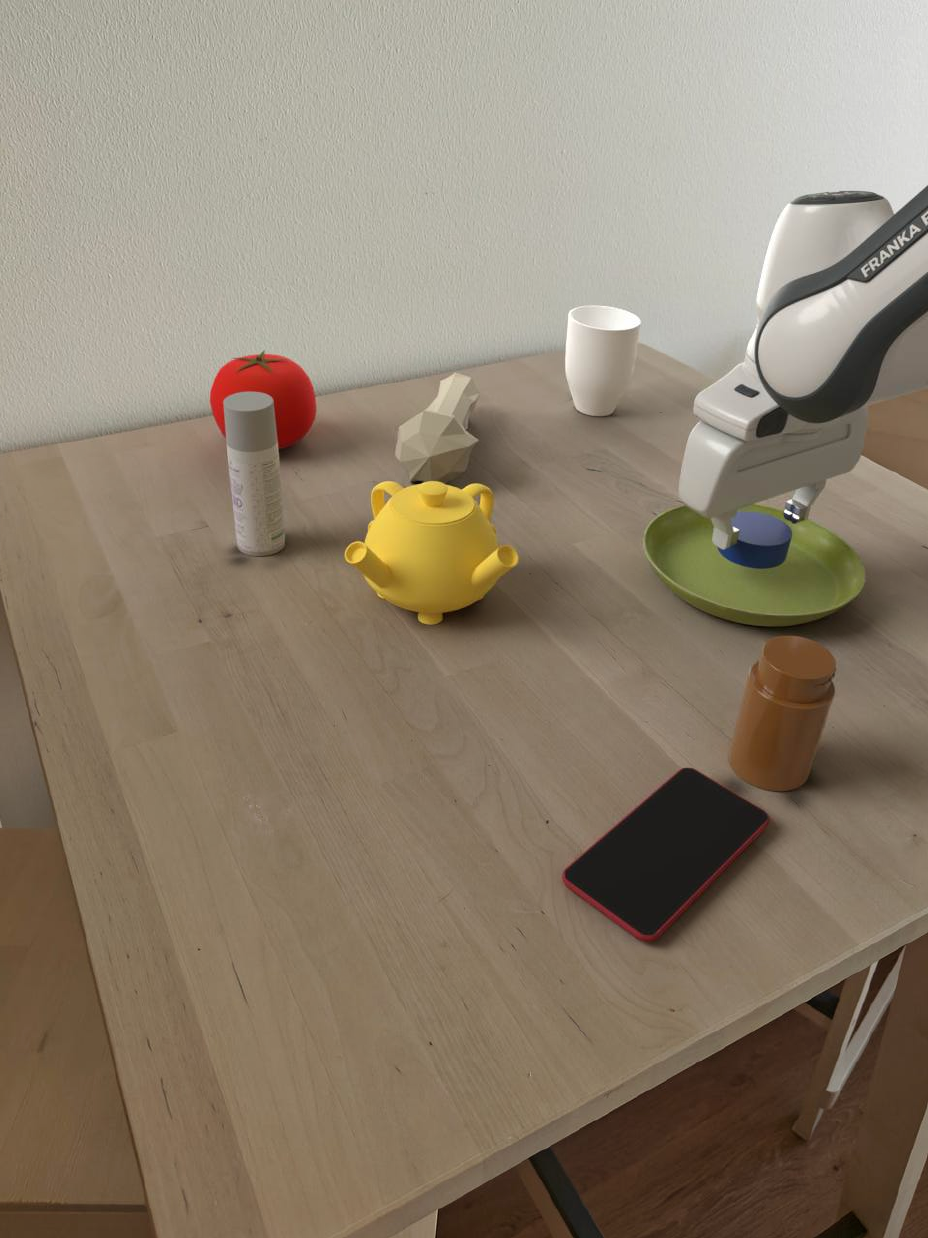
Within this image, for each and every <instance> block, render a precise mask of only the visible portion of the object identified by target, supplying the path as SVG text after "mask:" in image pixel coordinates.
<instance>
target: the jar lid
mask: <svg viewBox="0 0 928 1238" xmlns="http://www.w3.org/2000/svg"><path fill="white" fill-rule="evenodd" d="M731 522H732V526H733V527H735V528H737V529H739V530H740V533H739V537H738V538H737V540H738V542H737V544H736V545H735V546H732V547H730V548H727V549H724V550H723V549H721V548H719V547H717V548H718V550H719V552H720V553H721V555H722V556H723V557H725V558H726V559H728V560H729V561H731V562H733V563H735V564H738V565H741V566H744V567H749V568H756V569H767V568H773V567H777V566H779V565H781V564H782V563H783V562H784V561H785V560H786V557H787V553H788V549H789V546H790V542H791V538H792V531H791V528H790V527H789V526H788V525H787V524H786V523H785V522H783V521H782V520H780V519H778V518H776V517H774V516H771V515H768V514H764V513H760V512H752V511H742V512H737V514H736V517H735V518H731Z"/></svg>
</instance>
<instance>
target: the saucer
mask: <svg viewBox="0 0 928 1238" xmlns="http://www.w3.org/2000/svg"><path fill="white" fill-rule="evenodd" d="M742 511H752V512H760V513H764V514H768V515H771V516H774V517H776V518H778V519H780V520H782V521H783V522H785V523H786V524H787V525H788V526H789V527H790V528H791V531H792V538H791V542H790V546H789V549H788V553H787V557H786V560H785V561H784V562H783V563H782V564H781V565H779V566H777V567H773V568H767V569H756V568H749V567H744V566H741V565H738V564H735V563H733V562H731V561H729V560H728V559H726V558H725V557H723V556H722V555H721V553H720V552H719V550H718V548H717V546H716V545H714V544H713V542H712V536H713V531H714V526H713V523H712V521H711V518H705V517H703V516H701V515H700V514H698V513H696V512H694V511H693V510H691V509H690V508H688V507H686V506H685V505H684V504H682V505H678V506H675V507H672V508H669V509H667V510H665V511H663V512H661V513H660V514H658V515H657V516H654V518H653V519H652V520H651V521H650V522H649V523H648V525H647V526H646V527H645V530H644V532H643V537H642V544H643V550H644V553H645V555H646V558H647V560H648V562H649V564H650V566H651V567H652V569H653V571H654V573H656V575H657V576H658V578H659V579H660V580H661V581H662V583H664V585H665V586H667V588H668V589H669V590H670V591H672V593H674V594H675V595H677V597H679V598H680V599H681V600H683V601H684V602H686V603H688V604H689V605H691V606H692V607H694V608H696V609H699V610H701V611H702V612H705V613H707V614H709V615H712V616H714V617H717V618H720V619H723V620H726V621H731V622H734V623H738V624H744V625H750V626H756V627H790V626H798V625H801V624H806V623H811V622H813V621H817V620H819V619H823V618H825V617H827V616H830V615H832V614H834V613H835V612H837V611H839V610H841V609H843V607H845V606H847V605H848V604H850V603H851V602H852V601H853V600H854V599H855V598H856V597H857V596H859V594H860V593H861V592H862V589H863V588H864V585H865V583H866V569H865V566H864V564H863V561H862V560H861V557H859V555H858V554H857V552H856V551H855V550H854V548H853V547H852V546H851V545H849V543H848V542H847V541H846V540H844V539H843V538H842V537H840V536H839V535H838V534H836V533H835V532H833V531H832V530H830V529H829V528H827V527H825V526H823V525H822V524H820V523H817V522H815V521H813V520H811V519H809V518H808V519H807V520H805V521H802V522H799V523H796V524H793V523H791V521H787V520H786V519H785V518H784V516H783V513H784V511H785V509H784V510H783V509H780V508H776V507H772V506H770V505H769V506H768V505H764V504H759V503H755V504H752V505H749V506H746V507H743V508H740V509H737V512H742Z"/></svg>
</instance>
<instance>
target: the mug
mask: <svg viewBox="0 0 928 1238" xmlns="http://www.w3.org/2000/svg"><path fill="white" fill-rule="evenodd" d="M567 315H568V318H567V329H566V331H567V332H566V342H565V343H566V344H565V356H564V357H565V359H564V360H565V361H564V364H565V365H564V370H565V376H566V377H565V378H566V380H567V384H568V389H569V391H570V394H571V397H572V401H573V404H574V407H575V409H576V410H577V411H578V412H580V413H581V414H584V415H587V416H592V417H606V416H610V415H612V414H613V413H614V412H615V410H616V408H617V407H618V405H619V403H620V402H621V400H622V398H623V397H624V395H625V393H626V391H627V390H628V388H629V387H630V385H631V382H632V380H633V378H634V377H633V376H634V372H635V367H636V360H637V353H638V346H639V339H640V338H639V337H640V330H641V318H639V317H638V316H637V315H636V314H634V313H633V312H630V311H628V310H625V309H621V308H618V307H614V306H607V305H582V306H577V307H575V308H573V309H571V310H569V312H568V314H567Z"/></svg>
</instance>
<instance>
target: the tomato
mask: <svg viewBox="0 0 928 1238" xmlns="http://www.w3.org/2000/svg"><path fill="white" fill-rule="evenodd" d="M265 351H266V350H265V349H264V350H262V352H261V353H258V354H257V353H256V354H250V355H249V354H248V355H245V356H240V357H233V359H230V361H228V362H227V363H225V364H224V365H223V366H222V367H221V368H219V370H218V371H217V373H216V375H215V377H214V380H213V383H212V385H211V388H210V393H209V404H210V408H211V412H212V415H213V418H214V421H215V423H216V426H217V427H218V429H219V430H220V433H221V434H222V436H223V437H224V438H225V439H226V430H225V417H224V404H223V401H224V399H225V398H226V397H228V396H230V395H232V394H235V393H240V392H261V393H265V394H267V395H269V396H271V397H272V398H273V402H274V412H275V421H276V431H277V441H278V450H280V449H281V450H282V449H284V448H288V447H290V446H292V445H294V444H296V443H298V442H299V441H301V440H302V439H303V438H304V437H305V436H306V435H307V434H308V433H309V432H310V430H311V428H312V427H313V424H314V422H315V420H316V416H317V400H316V399H317V398H316V392H315V388H314V385H313V383H312V381H311V379H310V377H309V375H308V373H306V371H305V370H304V369H303V368H302V366H300V365H299V364H297V363H296V362H295V361H293V360H292V359H290V358H288V357H286V356H283V355H278V354H272V353H266V352H265Z"/></svg>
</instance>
